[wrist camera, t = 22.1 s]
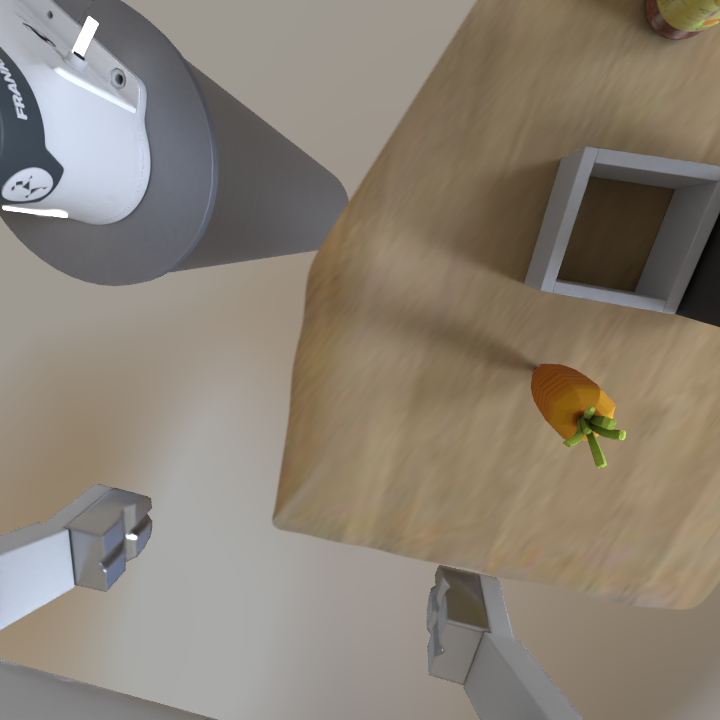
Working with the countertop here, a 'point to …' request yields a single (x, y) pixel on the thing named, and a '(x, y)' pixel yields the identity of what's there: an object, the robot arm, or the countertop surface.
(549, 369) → the carrot
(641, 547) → the countertop surface
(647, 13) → the sauce bottle
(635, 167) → the box with red knob
